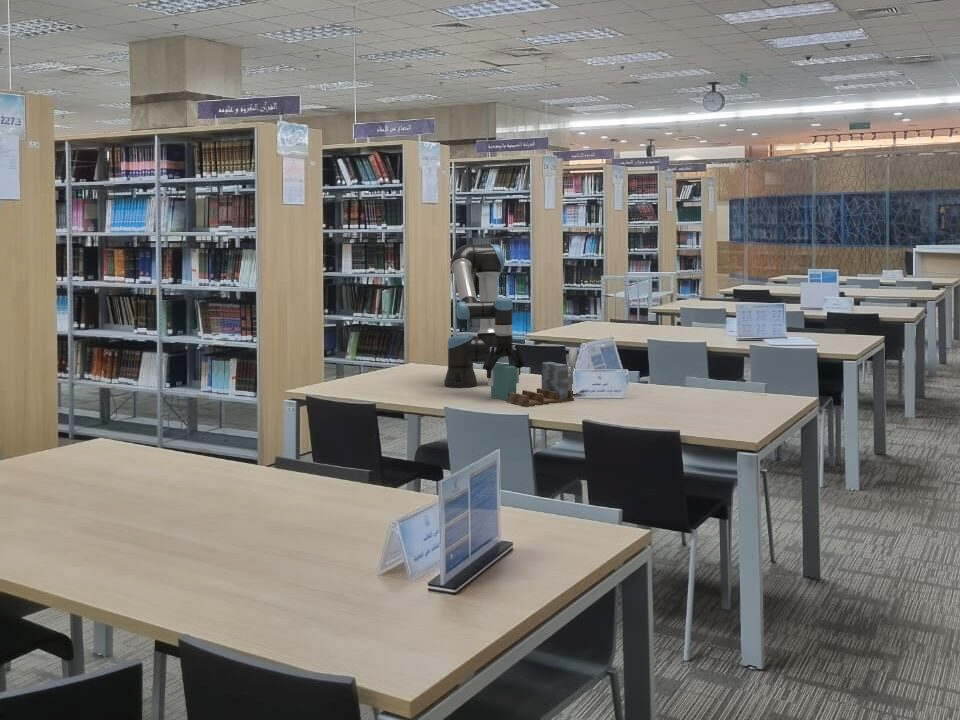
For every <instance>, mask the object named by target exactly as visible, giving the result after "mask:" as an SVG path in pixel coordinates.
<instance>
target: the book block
mask: <svg viewBox="0 0 960 720" xmlns="http://www.w3.org/2000/svg"><path fill="white" fill-rule="evenodd" d="M492 371H493V386H490V397H491V398H494V399H498V400H503V401H506V399H508V392H512V393H517V383H516V367H515V366H512V365H509V364H503V363H496V364H495V365H494V367H493V368H492Z"/></svg>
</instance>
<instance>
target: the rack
mask: <svg viewBox="0 0 960 720" xmlns="http://www.w3.org/2000/svg"><path fill="white" fill-rule="evenodd" d="M568 372H569V365H568V364H564V363H560V362H553V361H545V362H541V388H536V392H535V391H530V390H526V389H523V390H522V394H520V393H517V392H516V393H512V392H508V399H506V400H505V401H506V403H508V404H511V405H512V404H513V405H516V406H521V407H524V406H525V408H529V406H531V407H536V406H535V405H538V406H544V405H543V404H546V405H550V404H549V403H553V404H558V402H560V403H566V402H574V401H575V397H573V396H574V394H573V391H572V390H568Z"/></svg>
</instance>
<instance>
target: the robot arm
mask: <svg viewBox="0 0 960 720" xmlns="http://www.w3.org/2000/svg"><path fill="white" fill-rule="evenodd" d="M504 268H505V258H504V252H503V248H502V247H501V246H500V245H499V244H494V243H493V244H492V243H490V244H489V243H486V244H485V243H484V244H482V243H481V244H465V245H462V246H460V247H459V248H458V249H456V250H455V252H454V253H453V254H452V256H451V259H450V269H451V273H452V274H453V275H454V278H455V284H456V290H457V295H458V299H459V301H458V302H456V308H455V309H456V316H457V319H459V320H465V321H466V320H479V323H480V324H479V325H480V326H479V330H478V331H477V332H476V333H477V335H476V336H474V335H473V334H472V333H461V334H456V335H452V336H450V337H449V338H448V340H447V370H446V373H445V376H444V377H445V378H444V381H443V382H444V383H443V384H444V386H445V387H447V388H448V387H449V388H460V389H462V388H464V389H465V388H472V387H477V386H478V379H477V375H476V373H475V370H474V363H483V365H482V369H483V370H485V371H486V378H487V383H488V384H487V385H488V386H490V387H491V386H493V371H492V368H493V367H494V365H495V364H497V362H501V361H503V360H504V358H505V357H508V358H509V361H511V363H512V364H513V365H514V367H516V384H520V375H521V369H522V368H523V367H524V366H525V362H524V359H523V358H522V356H521V355H522V354H521V353H520V350H519V345H518V344H513V335H512V334H513V308H514V306H513V299H512V298H509V297H499V285H498V283H499V281H498V280H499V279H498V277H499V276H500V275H501V274H502V270H504ZM472 271H475V275H476V276H477V277H478V285H479V286H478V287H479V289H478V290H479V292H478V294H479V301H478V298H477V293H476V288H475V284H474V280H473V274H472Z"/></svg>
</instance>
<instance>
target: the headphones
mask: <svg viewBox="0 0 960 720" xmlns="http://www.w3.org/2000/svg"><path fill="white" fill-rule="evenodd" d="M578 352H579V350H578V348H576V347H571V348H569V350H568V363H569V366H570V370H568V390H572V384H573V371H574V368H575V369H576V362H577V360H578V354H579V353H578Z"/></svg>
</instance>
